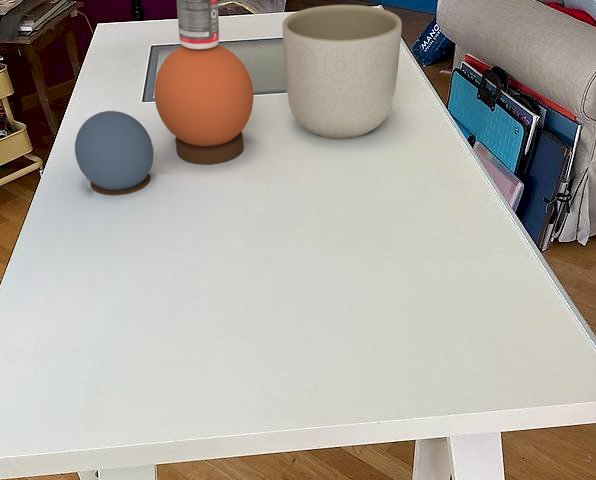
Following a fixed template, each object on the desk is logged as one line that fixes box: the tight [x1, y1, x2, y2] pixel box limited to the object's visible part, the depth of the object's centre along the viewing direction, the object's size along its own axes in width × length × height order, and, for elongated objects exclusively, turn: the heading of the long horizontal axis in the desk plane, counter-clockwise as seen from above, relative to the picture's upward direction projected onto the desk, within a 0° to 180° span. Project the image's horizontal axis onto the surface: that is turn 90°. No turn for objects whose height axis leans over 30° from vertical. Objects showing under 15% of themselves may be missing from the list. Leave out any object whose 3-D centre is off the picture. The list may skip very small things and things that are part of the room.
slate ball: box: [74, 110, 154, 197], centre depth 95 cm, size 10×10×11 cm
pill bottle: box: [176, 0, 220, 49], centre depth 95 cm, size 5×5×10 cm
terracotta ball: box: [153, 44, 254, 165], centre depth 103 cm, size 14×14×15 cm
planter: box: [282, 4, 403, 139], centre depth 108 cm, size 17×17×15 cm
